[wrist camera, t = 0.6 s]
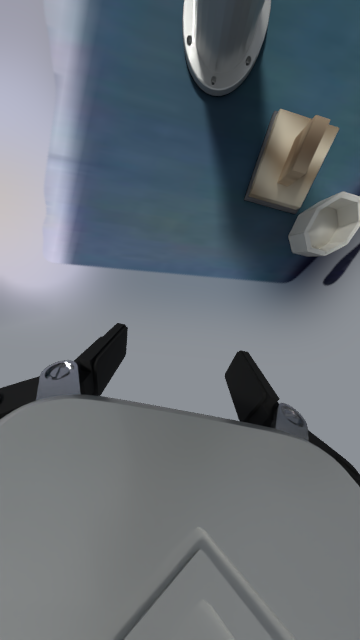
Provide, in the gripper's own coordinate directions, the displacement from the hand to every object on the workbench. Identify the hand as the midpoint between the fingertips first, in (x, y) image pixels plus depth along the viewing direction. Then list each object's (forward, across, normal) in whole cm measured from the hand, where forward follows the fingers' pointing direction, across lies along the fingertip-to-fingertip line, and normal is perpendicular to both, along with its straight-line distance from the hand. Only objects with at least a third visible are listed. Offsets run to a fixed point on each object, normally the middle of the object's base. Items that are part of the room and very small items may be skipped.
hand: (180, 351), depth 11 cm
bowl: (+29, -26, -20) cm, 43 cm away
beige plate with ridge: (+28, -14, -27) cm, 42 cm away
